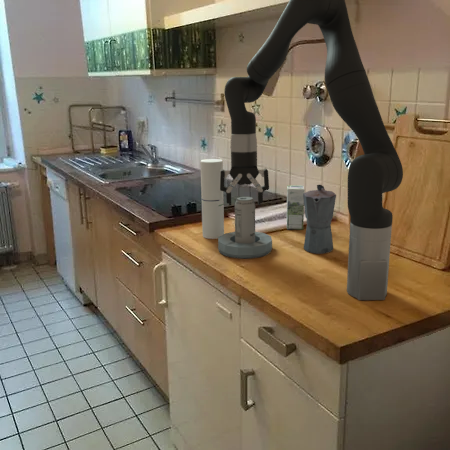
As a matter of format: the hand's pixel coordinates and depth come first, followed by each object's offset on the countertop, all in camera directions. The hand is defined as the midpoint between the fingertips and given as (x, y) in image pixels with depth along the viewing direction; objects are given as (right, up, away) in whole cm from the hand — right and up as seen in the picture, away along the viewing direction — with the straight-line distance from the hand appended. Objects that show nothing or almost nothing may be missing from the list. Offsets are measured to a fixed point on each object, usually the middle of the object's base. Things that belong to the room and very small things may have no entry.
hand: (244, 204), depth 148 cm
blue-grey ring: (0, -14, +4) cm, 14 cm away
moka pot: (+22, -13, +4) cm, 26 cm away
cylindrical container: (-10, -10, +19) cm, 23 cm away
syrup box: (+18, -7, +26) cm, 33 cm away
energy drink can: (0, -13, +4) cm, 13 cm away
